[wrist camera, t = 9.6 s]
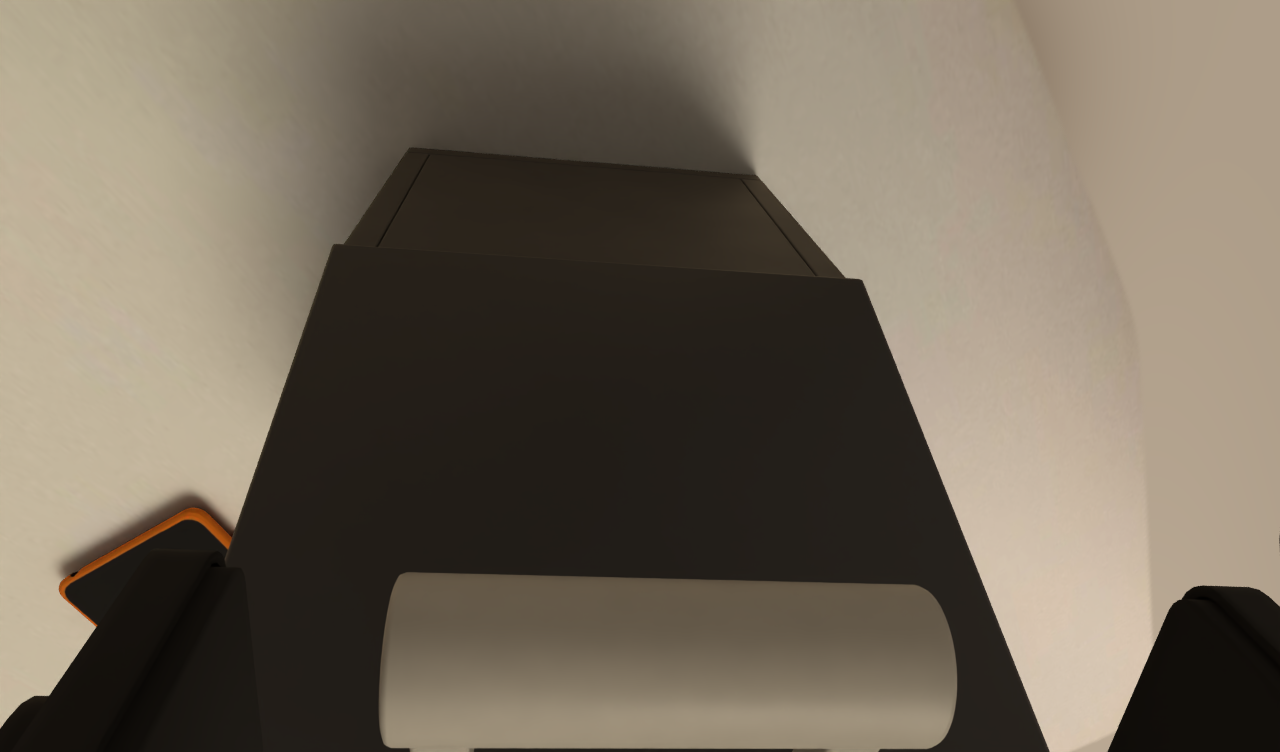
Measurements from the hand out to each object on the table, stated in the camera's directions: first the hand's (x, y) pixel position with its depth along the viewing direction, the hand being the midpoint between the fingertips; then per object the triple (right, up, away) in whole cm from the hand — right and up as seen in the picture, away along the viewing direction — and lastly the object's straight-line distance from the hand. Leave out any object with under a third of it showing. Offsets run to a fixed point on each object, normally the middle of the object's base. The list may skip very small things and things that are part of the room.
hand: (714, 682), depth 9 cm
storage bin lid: (-1, 0, +7) cm, 8 cm away
